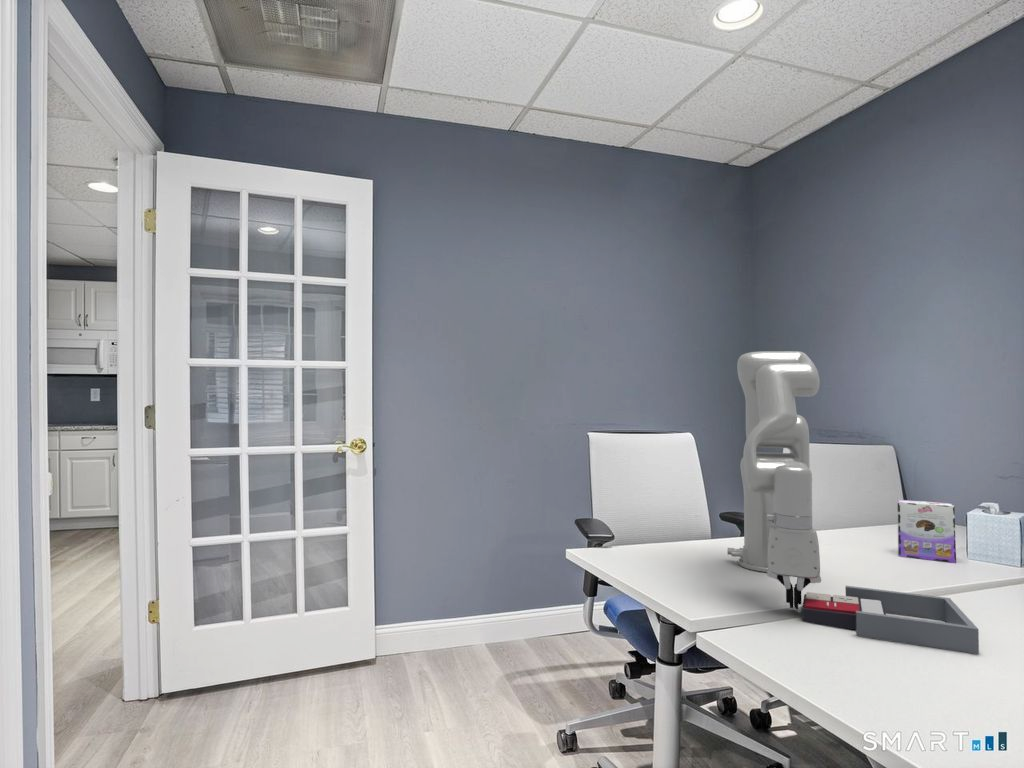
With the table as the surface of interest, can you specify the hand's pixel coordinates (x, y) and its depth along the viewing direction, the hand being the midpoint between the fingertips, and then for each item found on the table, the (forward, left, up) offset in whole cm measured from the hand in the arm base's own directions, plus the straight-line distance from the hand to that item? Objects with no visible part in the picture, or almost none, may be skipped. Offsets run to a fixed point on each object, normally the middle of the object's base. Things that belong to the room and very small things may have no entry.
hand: (793, 606), depth 125 cm
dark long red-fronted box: (+9, -1, -2) cm, 10 cm away
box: (+20, 0, -1) cm, 20 cm away
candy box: (+37, +66, -1) cm, 76 cm away
